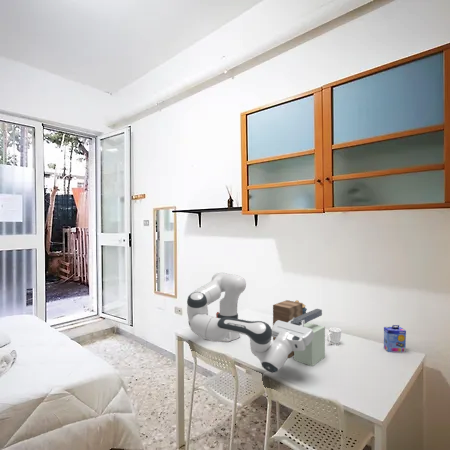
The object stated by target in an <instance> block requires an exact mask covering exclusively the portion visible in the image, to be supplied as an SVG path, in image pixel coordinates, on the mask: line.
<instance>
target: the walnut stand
mask: <svg viewBox="0 0 450 450" xmlns="http://www.w3.org/2000/svg"><path fill="white" fill-rule="evenodd" d="M303 304H304V303H303V302H300V303H299V302H295V301H294V300H293V301H292V300H287V299H286V300H283V301H281V302H277V303H274V304H273V305H272V316H273V317H272V326H273V325H274V323H275V322H276V321H277V320H280V321H283V322H287V323H288V322H289V321H291V320H292V319H293V318H296V317H298V316H301V315H303ZM275 339H276V338H275V337H272V340H275ZM292 357H294V351H292V352H291V353H290V354H289V355H288V357H287V359H290V358H292Z"/></svg>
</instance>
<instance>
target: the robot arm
mask: <svg viewBox="0 0 450 450" xmlns="http://www.w3.org/2000/svg"><path fill="white" fill-rule="evenodd" d="M246 286H247V281H246V279H245V278H244V277H242V276H240V275H238V274H233V273H232V274H231V273H225V272H216V273H214V274H213V276H212V277H211V280H210V281H209V282H208V283H206V284H204V285H201V286H200V287H198V288H197V289H195V290H194V291H192V293H190V294H189V295H188V296H187V301H186V302H187V303H186V304H187V306H186V307H187V308H186V311H187V312H186V313H187V317H188V319H187V320H188V325H189V326H188V327H189V328H190V331H192V333H193V334H195V335H198V336H199V337H201V338H203V339H204V340H206V341H210V342H211V341H212V342H216V343H217V342H218V343H219V342H225V343H226V342H227V343H229V342H231V341H235V340H237V339H239V338H241V335H245V336H247V337H248V338H249V342H250V343H249V344H250V351H251V353H252V355H253V356H255V357H256V358H257V359H258V361H259V362H260V364H261V367H262V368H263V369H264V370H266V371H267V372H269V373H277V372H278V371H280V370H281V369H282V367H283V366H284V365H285V363H286V361H288V358H287V357H288V355H289V354H290V353H291V352H292V351H304V350H305V346H307V345H309V343H310V342H311V341H312V339H313V337H314V332H313V330H312V329H310V328H306V327H304V324H305V320H301V321H300V323H301V325H300V326H299V325H295V324H293V319H292V320H291V321H289V322H288V323H287V322H283V321H280V320H277V321H276V322H275V323H274V325H273V324H272V327H271V326H270V325H269V323H267V322H265V321H260V320H246V319H241V318H240V319H239V313H238V300H239V299H240V298H239V297H240V296H241V294H242V293H243V292H244V291H245V289H246ZM223 292H224V296H223V297H222V298H221V295H222V293H223ZM220 298H221V299H220ZM219 299H220V301H219V311H217V312H216V314H215V315H216V316H213V315H209V310H208V309H209V307H208V305H210V304H212V303H214V302H216V301H217V300H219ZM273 337H275V338H276V339H275V340H273V339H272V338H273Z"/></svg>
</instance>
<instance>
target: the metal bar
mask: <svg viewBox="0 0 450 450" xmlns="http://www.w3.org/2000/svg"><path fill="white" fill-rule="evenodd" d="M322 315H323V310H322V309H320V308H315V309H313V310H310V311H308V312H306V313H305V314H303V315H301V316H298V317H296V318H293V324H295V325H299V326H300V325H301V323H300V321H301V320H305V323H310V322H311V321H313V320H315V319H317V318H319V317H321V316H322Z"/></svg>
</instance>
